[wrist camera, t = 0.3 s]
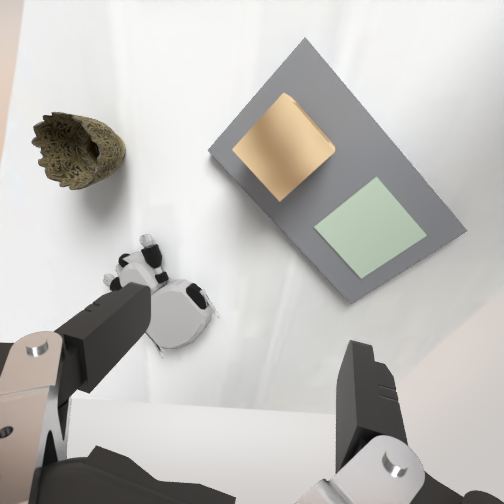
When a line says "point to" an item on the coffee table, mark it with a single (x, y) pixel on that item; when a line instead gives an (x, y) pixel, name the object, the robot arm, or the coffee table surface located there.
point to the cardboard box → (284, 147)
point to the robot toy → (164, 298)
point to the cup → (77, 149)
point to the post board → (344, 184)
